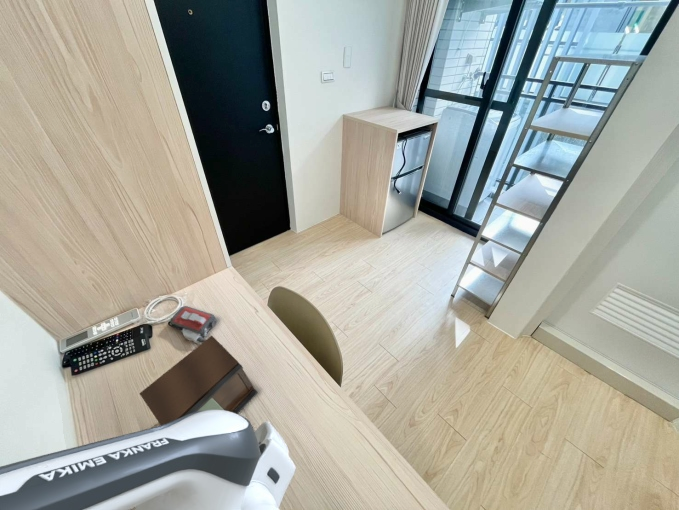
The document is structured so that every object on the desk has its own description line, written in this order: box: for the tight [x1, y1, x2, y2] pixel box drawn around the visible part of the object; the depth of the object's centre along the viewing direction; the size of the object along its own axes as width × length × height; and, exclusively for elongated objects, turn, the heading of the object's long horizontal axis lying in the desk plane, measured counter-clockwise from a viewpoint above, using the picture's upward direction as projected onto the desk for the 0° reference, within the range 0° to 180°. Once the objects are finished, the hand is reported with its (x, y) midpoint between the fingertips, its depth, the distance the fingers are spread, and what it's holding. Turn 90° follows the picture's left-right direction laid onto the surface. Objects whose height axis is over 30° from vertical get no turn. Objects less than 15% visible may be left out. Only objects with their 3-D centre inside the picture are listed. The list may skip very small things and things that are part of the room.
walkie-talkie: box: [167, 305, 217, 344], centre depth 79 cm, size 9×4×20 cm
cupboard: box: [139, 335, 259, 426], centre depth 60 cm, size 16×11×16 cm
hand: (217, 468), depth 47 cm, fingers open, 8 cm apart
